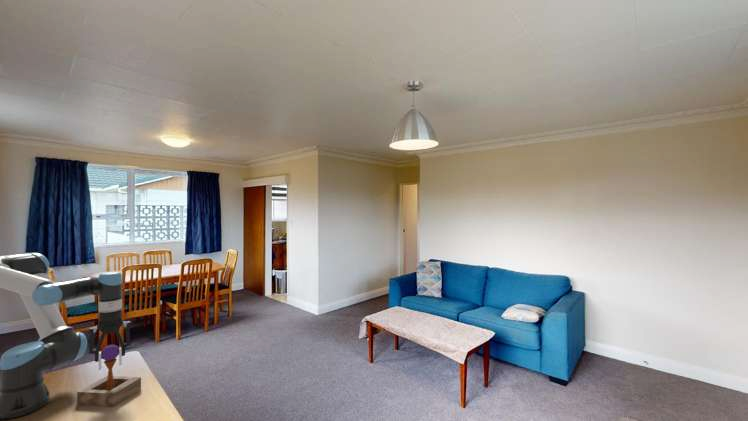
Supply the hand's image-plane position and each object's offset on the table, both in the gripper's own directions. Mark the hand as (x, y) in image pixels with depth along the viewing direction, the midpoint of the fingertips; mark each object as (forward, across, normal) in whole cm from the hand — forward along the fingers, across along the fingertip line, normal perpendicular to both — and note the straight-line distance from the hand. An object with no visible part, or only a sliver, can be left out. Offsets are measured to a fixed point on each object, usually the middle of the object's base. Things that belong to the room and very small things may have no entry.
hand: (110, 366), depth 135 cm
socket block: (+12, 0, 0) cm, 12 cm away
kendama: (+12, 0, 0) cm, 12 cm away
